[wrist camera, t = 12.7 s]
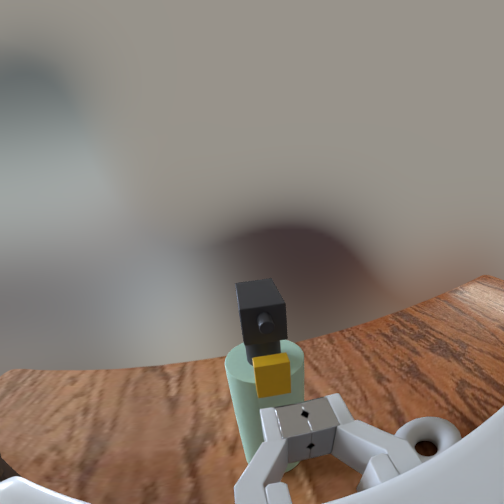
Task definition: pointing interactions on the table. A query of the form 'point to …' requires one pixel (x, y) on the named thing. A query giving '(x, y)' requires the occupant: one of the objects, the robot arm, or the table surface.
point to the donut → (430, 433)
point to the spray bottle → (256, 345)
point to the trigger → (272, 375)
